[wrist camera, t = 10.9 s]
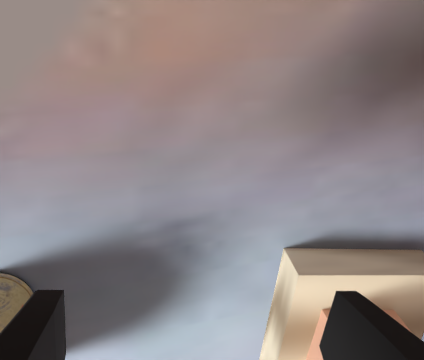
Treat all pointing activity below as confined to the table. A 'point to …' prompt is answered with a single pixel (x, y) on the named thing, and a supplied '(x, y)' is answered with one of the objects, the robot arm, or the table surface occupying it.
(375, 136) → the table surface
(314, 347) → the terracotta block
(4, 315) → the yellow package
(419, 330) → the birch block
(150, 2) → the table surface
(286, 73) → the table surface
